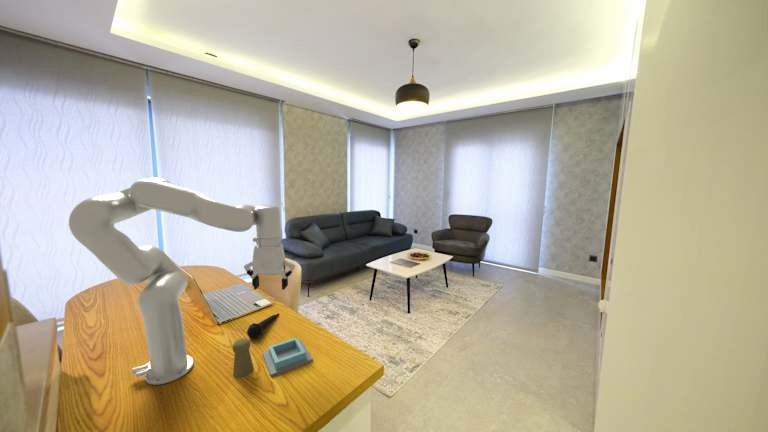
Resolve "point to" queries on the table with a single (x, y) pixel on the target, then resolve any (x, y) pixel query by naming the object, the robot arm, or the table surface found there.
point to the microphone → (260, 327)
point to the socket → (286, 356)
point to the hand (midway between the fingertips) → (270, 288)
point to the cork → (242, 358)
